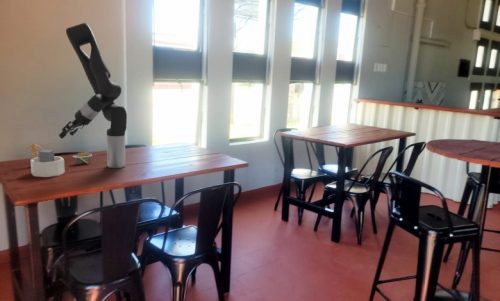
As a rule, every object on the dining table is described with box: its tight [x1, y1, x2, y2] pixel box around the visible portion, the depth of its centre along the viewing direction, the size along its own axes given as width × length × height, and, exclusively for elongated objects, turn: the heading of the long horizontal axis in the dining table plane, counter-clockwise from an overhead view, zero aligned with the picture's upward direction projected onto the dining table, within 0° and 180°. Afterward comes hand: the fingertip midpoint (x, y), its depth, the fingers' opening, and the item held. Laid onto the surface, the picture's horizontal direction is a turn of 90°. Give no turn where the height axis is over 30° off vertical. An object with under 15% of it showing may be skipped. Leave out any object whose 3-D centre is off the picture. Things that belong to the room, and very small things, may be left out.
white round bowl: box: [30, 155, 66, 178], centre depth 188 cm, size 14×14×7 cm
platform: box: [72, 151, 93, 165], centre depth 209 cm, size 12×18×7 cm, turn 133°
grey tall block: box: [38, 149, 55, 162], centre depth 187 cm, size 5×5×10 cm
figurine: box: [25, 142, 44, 159], centre depth 199 cm, size 8×6×12 cm
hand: (65, 135), depth 184 cm, fingers open, 8 cm apart
